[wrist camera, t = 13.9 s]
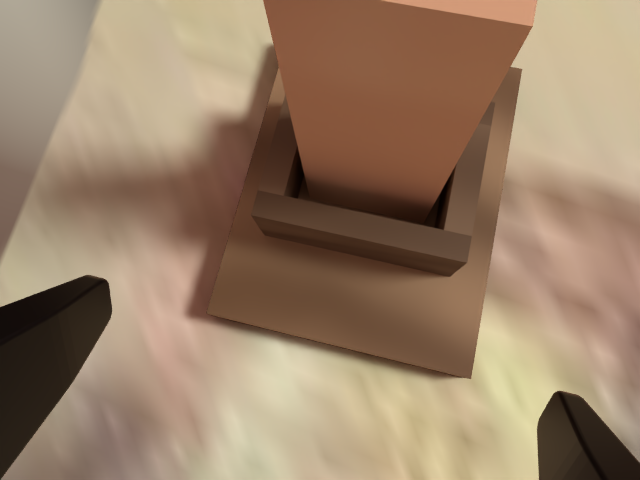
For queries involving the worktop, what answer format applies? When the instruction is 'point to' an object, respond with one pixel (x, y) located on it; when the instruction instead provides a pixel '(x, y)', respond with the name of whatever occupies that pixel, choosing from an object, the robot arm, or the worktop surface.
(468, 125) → the clay rectangular block
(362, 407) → the worktop surface
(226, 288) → the square socket base
